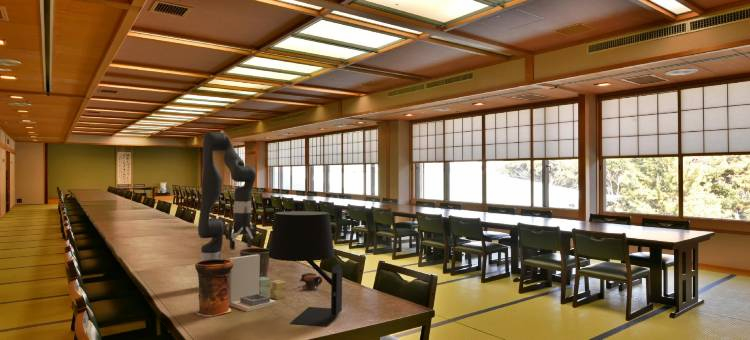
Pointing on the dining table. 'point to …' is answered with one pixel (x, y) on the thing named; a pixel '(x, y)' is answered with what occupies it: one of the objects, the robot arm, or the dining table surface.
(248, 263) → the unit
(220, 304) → the vessel
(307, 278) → the pottery mug
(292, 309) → the dining table surface
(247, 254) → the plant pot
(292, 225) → the table lamp
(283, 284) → the mustard block
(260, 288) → the sage block
